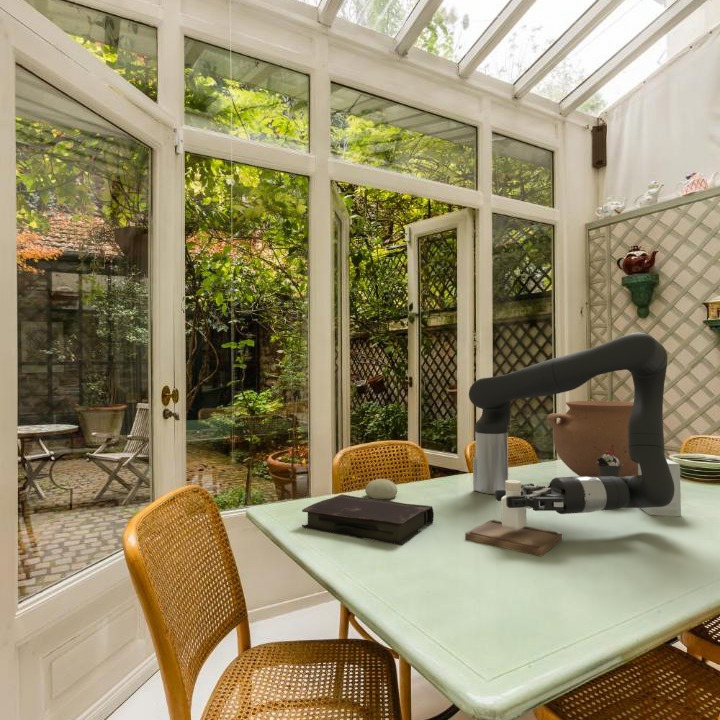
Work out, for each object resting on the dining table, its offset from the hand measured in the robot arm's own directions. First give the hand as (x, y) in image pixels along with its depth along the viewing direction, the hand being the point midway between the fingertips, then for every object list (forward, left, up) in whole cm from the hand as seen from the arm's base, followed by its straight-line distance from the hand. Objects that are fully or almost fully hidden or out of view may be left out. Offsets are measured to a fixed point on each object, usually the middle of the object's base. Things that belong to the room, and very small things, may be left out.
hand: (501, 498), depth 106 cm
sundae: (+10, +47, -9) cm, 49 cm away
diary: (-28, -10, -9) cm, 31 cm away
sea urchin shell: (-42, +14, -9) cm, 45 cm away
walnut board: (+2, +2, -9) cm, 9 cm away
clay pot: (+3, +70, -9) cm, 70 cm away
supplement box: (+22, +44, -9) cm, 50 cm away
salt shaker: (+2, +2, -6) cm, 7 cm away
